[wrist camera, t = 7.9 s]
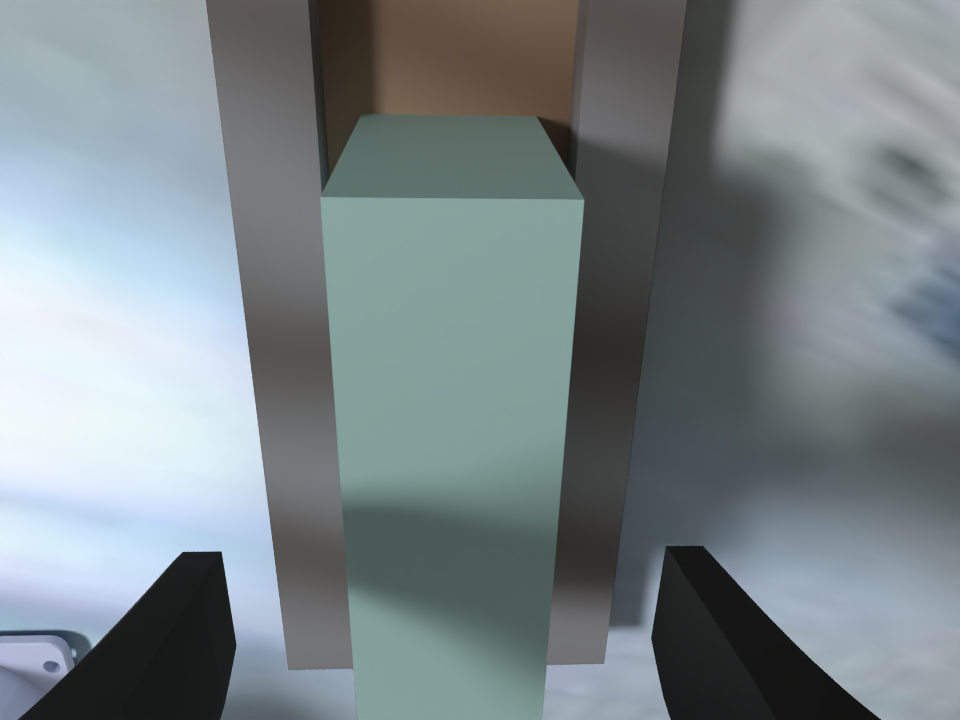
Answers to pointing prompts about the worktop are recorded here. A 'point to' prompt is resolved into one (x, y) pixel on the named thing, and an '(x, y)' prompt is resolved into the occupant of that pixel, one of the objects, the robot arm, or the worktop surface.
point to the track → (301, 265)
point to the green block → (450, 405)
